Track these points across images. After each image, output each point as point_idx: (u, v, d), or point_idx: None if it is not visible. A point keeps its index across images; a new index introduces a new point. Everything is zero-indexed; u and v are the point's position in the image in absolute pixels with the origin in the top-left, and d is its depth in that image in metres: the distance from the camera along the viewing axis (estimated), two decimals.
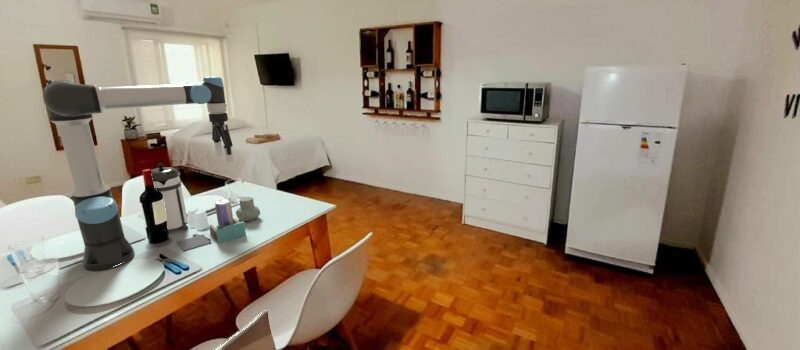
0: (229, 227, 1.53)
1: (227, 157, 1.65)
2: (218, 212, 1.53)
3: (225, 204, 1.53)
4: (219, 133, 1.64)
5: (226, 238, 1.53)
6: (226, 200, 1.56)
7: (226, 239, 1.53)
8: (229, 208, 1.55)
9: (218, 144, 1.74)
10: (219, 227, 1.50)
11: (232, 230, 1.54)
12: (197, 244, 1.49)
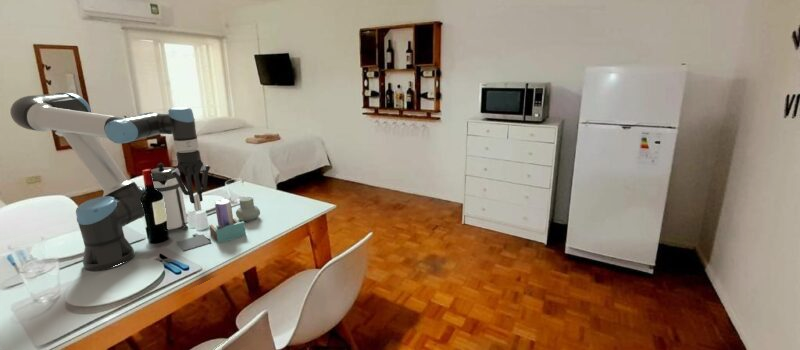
0: (229, 227, 1.53)
1: (194, 204, 1.42)
2: (218, 212, 1.53)
3: (225, 204, 1.53)
4: (185, 175, 1.39)
5: (226, 238, 1.53)
6: (226, 200, 1.56)
7: (226, 239, 1.53)
8: (229, 208, 1.55)
9: None
10: (219, 227, 1.50)
11: (232, 230, 1.54)
12: (197, 244, 1.49)
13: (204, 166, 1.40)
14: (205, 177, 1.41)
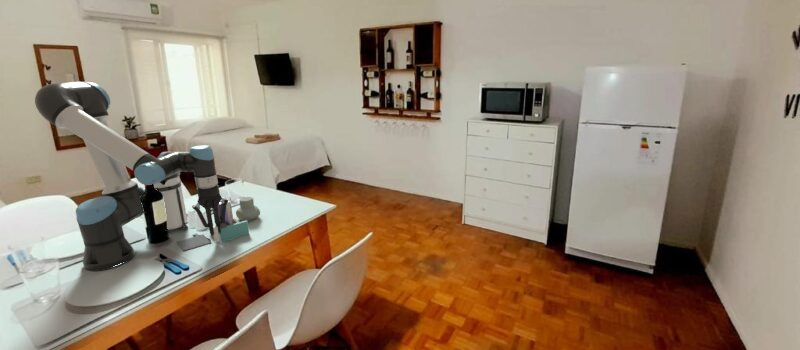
0: (232, 226, 1.54)
1: (213, 236, 1.49)
2: (218, 212, 1.53)
3: None
4: (205, 209, 1.46)
5: (229, 237, 1.54)
6: None
7: (229, 238, 1.54)
8: (229, 208, 1.55)
9: None
10: (223, 226, 1.51)
11: (235, 229, 1.55)
12: (197, 244, 1.49)
13: (222, 199, 1.48)
14: (223, 210, 1.48)
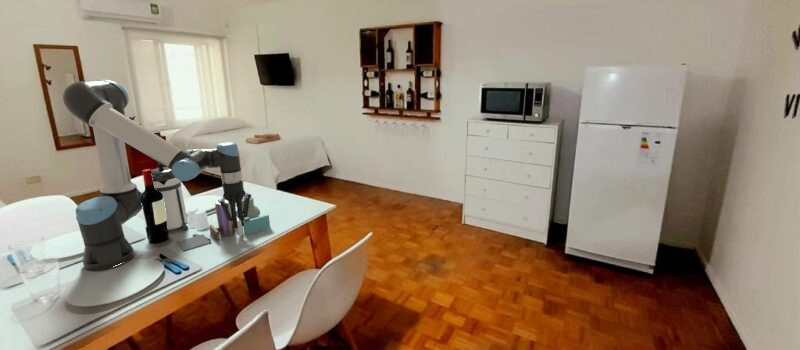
0: (255, 220, 1.60)
1: (237, 229, 1.56)
2: (218, 212, 1.53)
3: (225, 204, 1.53)
4: (229, 203, 1.52)
5: (252, 230, 1.60)
6: (226, 200, 1.56)
7: (252, 231, 1.60)
8: (229, 208, 1.55)
9: None
10: (246, 220, 1.57)
11: (258, 223, 1.61)
12: (197, 244, 1.49)
13: (246, 194, 1.54)
14: (247, 204, 1.54)
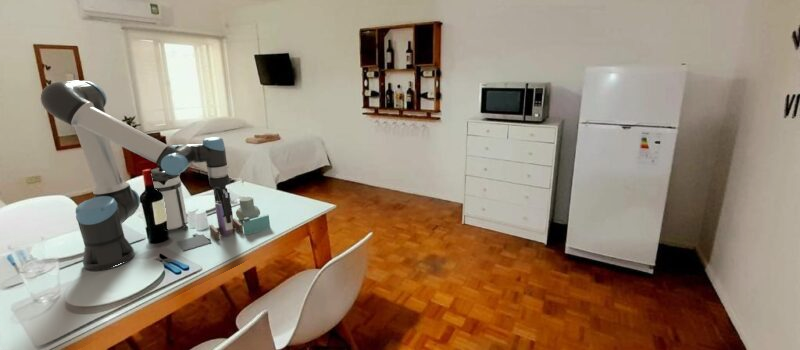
0: (255, 220, 1.60)
1: (227, 225, 1.55)
2: (218, 212, 1.53)
3: None
4: (219, 199, 1.51)
5: (252, 230, 1.60)
6: None
7: (252, 231, 1.60)
8: None
9: None
10: (246, 220, 1.57)
11: (258, 223, 1.61)
12: (197, 244, 1.49)
13: None
14: None
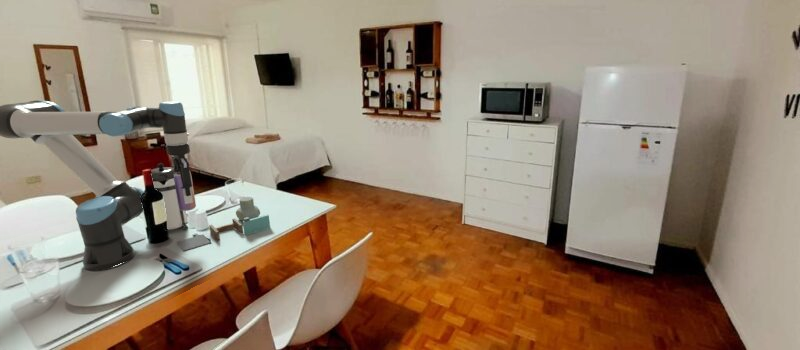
0: (255, 220, 1.60)
1: (186, 198, 1.43)
2: (176, 183, 1.42)
3: None
4: (178, 170, 1.39)
5: (252, 230, 1.60)
6: None
7: (252, 231, 1.60)
8: None
9: None
10: (246, 220, 1.57)
11: (258, 223, 1.61)
12: (197, 244, 1.49)
13: None
14: None
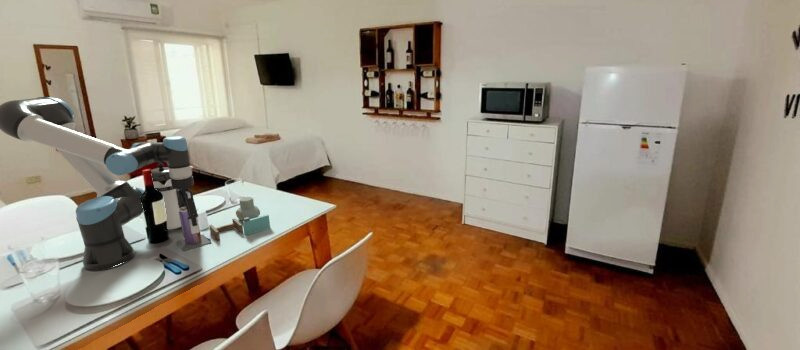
0: (255, 220, 1.60)
1: (192, 228, 1.44)
2: (182, 219, 1.45)
3: None
4: (183, 201, 1.42)
5: (252, 230, 1.60)
6: None
7: (252, 231, 1.60)
8: None
9: None
10: (246, 220, 1.57)
11: (258, 223, 1.61)
12: (197, 244, 1.49)
13: None
14: None
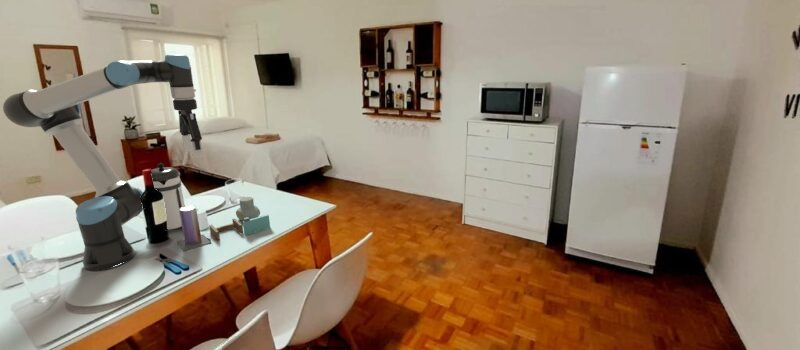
0: (255, 220, 1.60)
1: (196, 153, 1.36)
2: (182, 219, 1.45)
3: (190, 211, 1.45)
4: (185, 124, 1.35)
5: (252, 230, 1.60)
6: (191, 206, 1.48)
7: (252, 231, 1.60)
8: (194, 215, 1.47)
9: (187, 137, 1.45)
10: (246, 220, 1.57)
11: (258, 223, 1.61)
12: (197, 244, 1.49)
13: None
14: None
